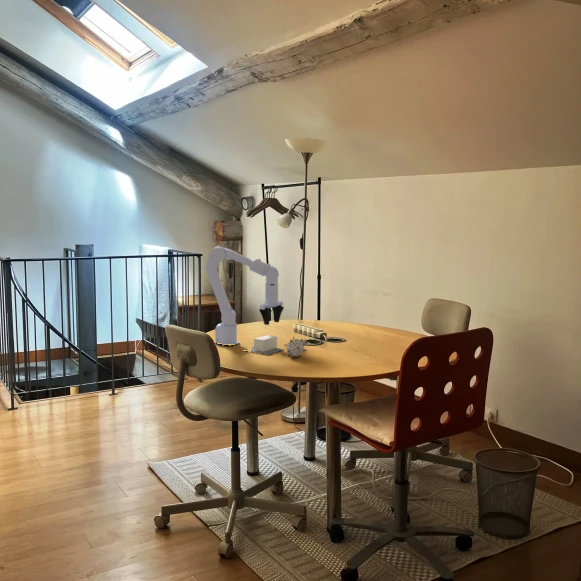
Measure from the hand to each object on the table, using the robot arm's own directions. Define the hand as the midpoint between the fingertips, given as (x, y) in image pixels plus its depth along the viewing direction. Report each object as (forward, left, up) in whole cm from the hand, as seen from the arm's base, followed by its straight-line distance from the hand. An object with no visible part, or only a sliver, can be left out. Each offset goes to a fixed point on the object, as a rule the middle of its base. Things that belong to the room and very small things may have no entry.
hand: (271, 323), depth 276 cm
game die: (+23, -15, -10) cm, 29 cm away
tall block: (+5, -6, -6) cm, 10 cm away
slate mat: (+5, -13, -9) cm, 17 cm away
